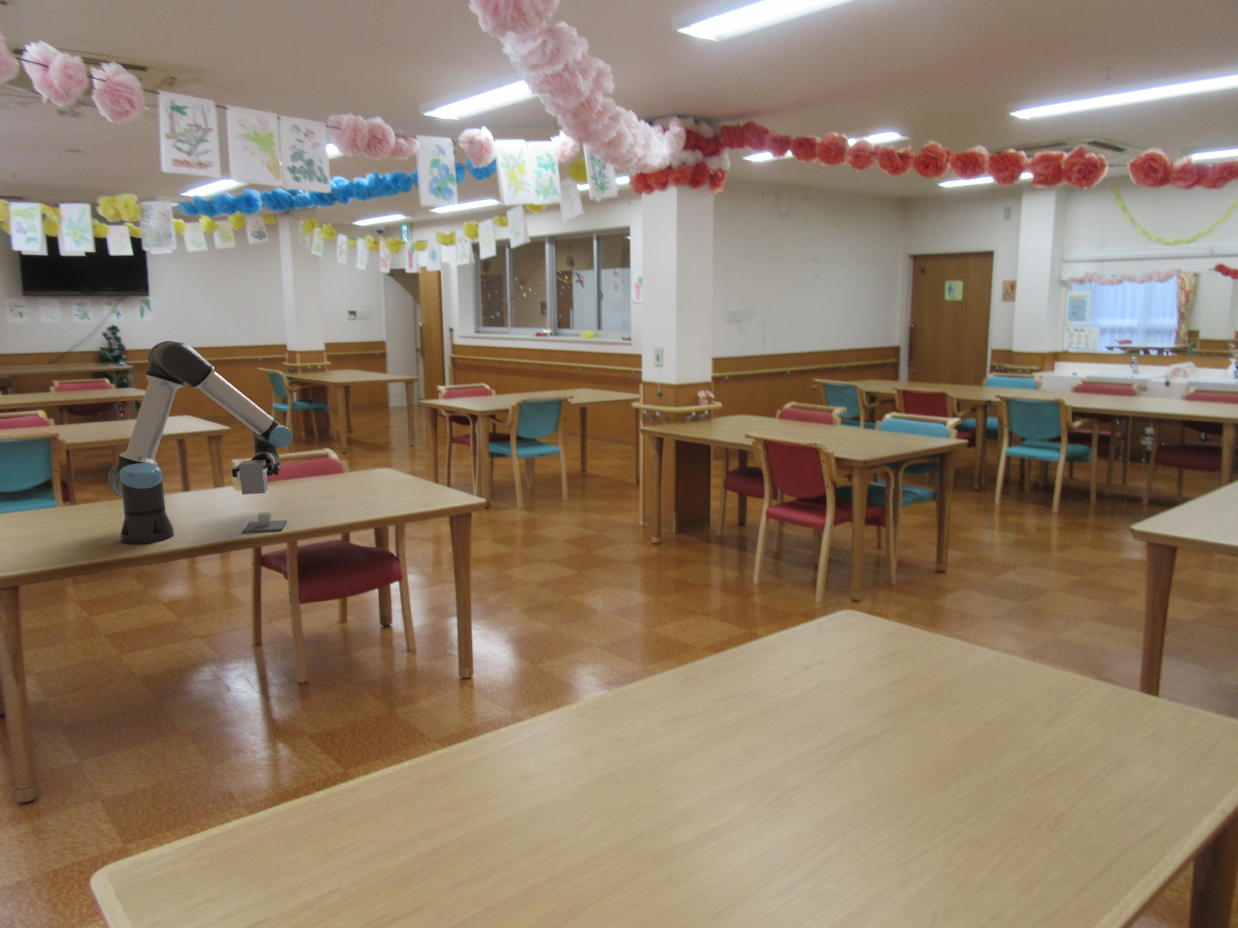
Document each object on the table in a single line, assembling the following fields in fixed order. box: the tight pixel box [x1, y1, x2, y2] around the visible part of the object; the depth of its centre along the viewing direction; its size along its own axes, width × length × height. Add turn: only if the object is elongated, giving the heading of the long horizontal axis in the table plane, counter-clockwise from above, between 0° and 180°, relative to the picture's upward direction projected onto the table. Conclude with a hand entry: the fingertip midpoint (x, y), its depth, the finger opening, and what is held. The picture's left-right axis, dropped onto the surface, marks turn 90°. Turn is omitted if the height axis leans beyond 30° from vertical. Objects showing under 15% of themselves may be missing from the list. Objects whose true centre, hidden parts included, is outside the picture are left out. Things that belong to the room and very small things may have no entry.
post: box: [257, 511, 272, 527], centre depth 294 cm, size 3×3×4 cm
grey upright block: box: [238, 459, 269, 495], centre depth 291 cm, size 7×7×10 cm
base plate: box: [242, 519, 288, 534], centre depth 294 cm, size 12×12×1 cm
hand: (251, 476), depth 287 cm, fingers closed on grey upright block, 7 cm apart
